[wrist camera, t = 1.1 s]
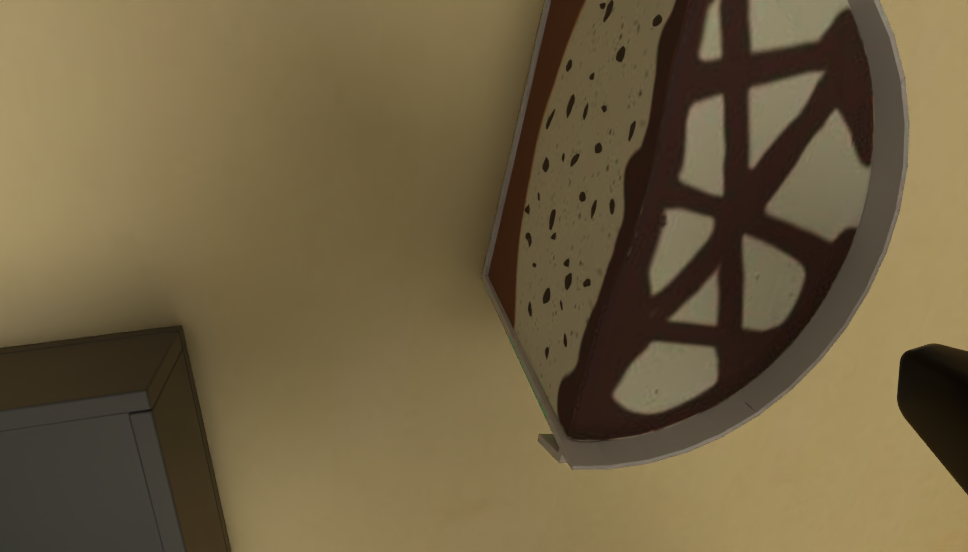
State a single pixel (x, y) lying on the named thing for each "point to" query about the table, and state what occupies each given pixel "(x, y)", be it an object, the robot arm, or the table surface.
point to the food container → (692, 211)
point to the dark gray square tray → (105, 448)
